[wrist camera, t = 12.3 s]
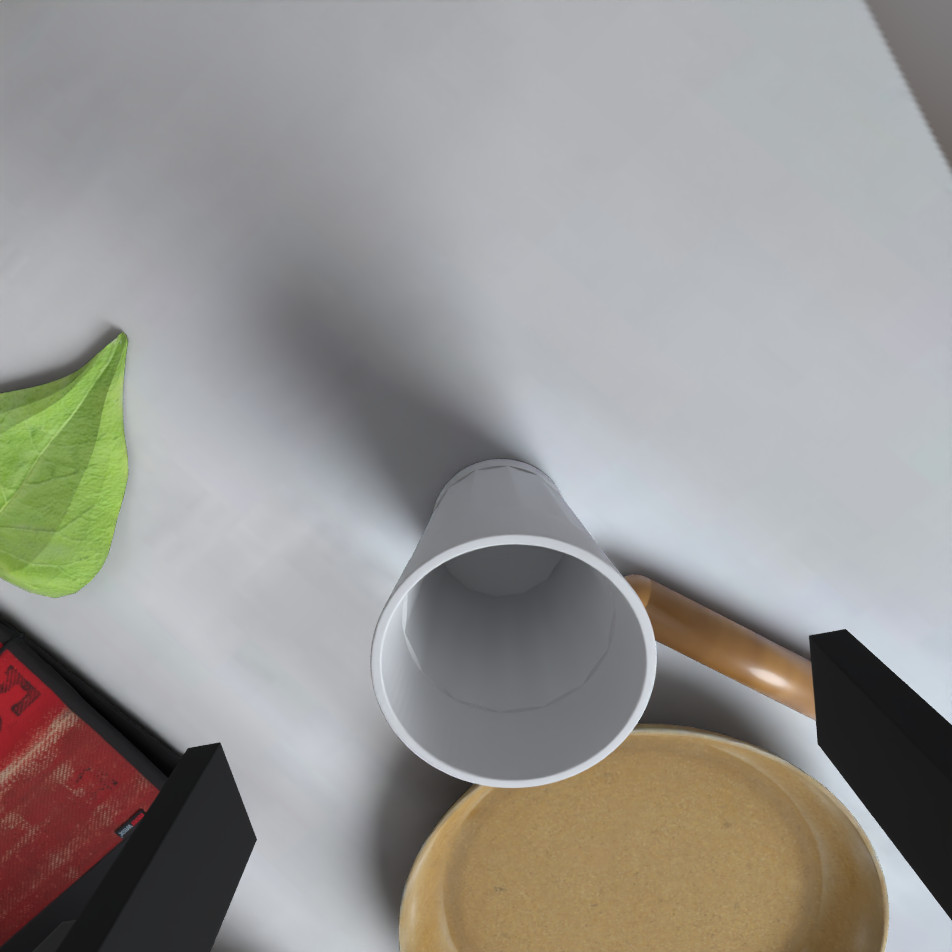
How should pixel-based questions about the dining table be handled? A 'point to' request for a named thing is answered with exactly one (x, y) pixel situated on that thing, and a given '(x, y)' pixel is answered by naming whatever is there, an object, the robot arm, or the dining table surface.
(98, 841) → the notebook
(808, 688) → the dowel
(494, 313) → the dining table surface
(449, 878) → the plant saucer
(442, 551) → the cup
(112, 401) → the leaf
